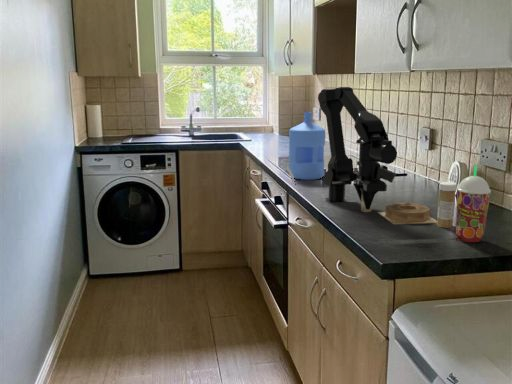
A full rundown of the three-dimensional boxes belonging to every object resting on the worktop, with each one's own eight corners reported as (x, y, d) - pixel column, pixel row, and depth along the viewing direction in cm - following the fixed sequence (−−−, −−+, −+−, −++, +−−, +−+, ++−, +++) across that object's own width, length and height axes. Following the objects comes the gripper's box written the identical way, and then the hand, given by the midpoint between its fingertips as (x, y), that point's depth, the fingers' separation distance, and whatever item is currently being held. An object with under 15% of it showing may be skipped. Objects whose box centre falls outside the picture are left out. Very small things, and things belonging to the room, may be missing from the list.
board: (376, 214, 162) (377, 211, 161) (419, 213, 163) (419, 210, 163) (393, 227, 148) (393, 224, 148) (439, 226, 149) (439, 222, 149)
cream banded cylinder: (359, 212, 165) (360, 187, 163) (369, 211, 165) (370, 187, 163) (362, 214, 161) (363, 190, 160) (372, 214, 162) (373, 189, 160)
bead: (381, 212, 161) (381, 203, 160) (418, 211, 162) (418, 202, 161) (395, 223, 149) (396, 213, 148) (435, 221, 150) (435, 212, 149)
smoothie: (452, 242, 135) (458, 167, 130) (452, 233, 142) (458, 162, 138) (486, 245, 132) (494, 169, 128) (485, 236, 139) (492, 164, 135)
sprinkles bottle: (440, 225, 150) (443, 180, 147) (455, 228, 147) (459, 182, 144) (433, 229, 146) (436, 183, 144) (448, 232, 143) (452, 185, 141)
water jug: (281, 175, 228) (282, 112, 222) (311, 172, 235) (313, 111, 229) (300, 181, 214) (301, 114, 208) (331, 178, 221) (333, 113, 215)
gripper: (405, 163, 151) (401, 214, 155) (383, 154, 169) (380, 200, 173) (368, 164, 150) (365, 215, 153) (350, 155, 168) (348, 201, 172)
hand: (366, 207), depth 163 cm, fingers closed on cream banded cylinder, 3 cm apart
